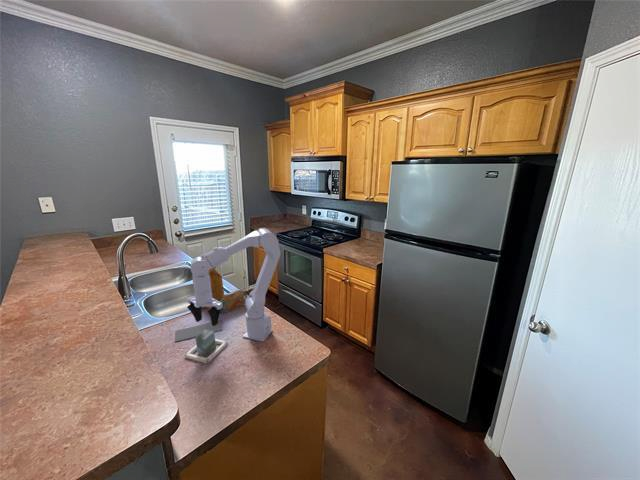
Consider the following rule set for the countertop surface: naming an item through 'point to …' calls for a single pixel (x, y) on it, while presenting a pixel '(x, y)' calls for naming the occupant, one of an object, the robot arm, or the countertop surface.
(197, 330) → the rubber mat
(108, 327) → the countertop surface
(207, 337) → the block
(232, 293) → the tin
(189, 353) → the pocket frame
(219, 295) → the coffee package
